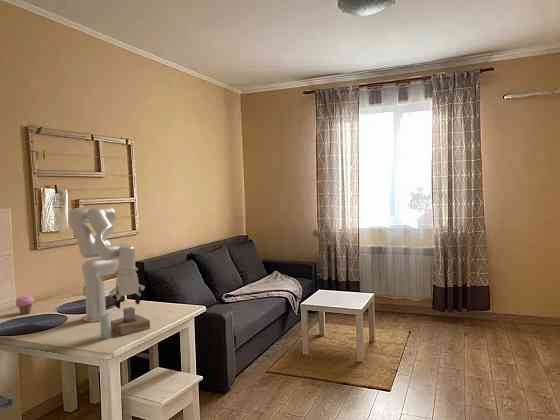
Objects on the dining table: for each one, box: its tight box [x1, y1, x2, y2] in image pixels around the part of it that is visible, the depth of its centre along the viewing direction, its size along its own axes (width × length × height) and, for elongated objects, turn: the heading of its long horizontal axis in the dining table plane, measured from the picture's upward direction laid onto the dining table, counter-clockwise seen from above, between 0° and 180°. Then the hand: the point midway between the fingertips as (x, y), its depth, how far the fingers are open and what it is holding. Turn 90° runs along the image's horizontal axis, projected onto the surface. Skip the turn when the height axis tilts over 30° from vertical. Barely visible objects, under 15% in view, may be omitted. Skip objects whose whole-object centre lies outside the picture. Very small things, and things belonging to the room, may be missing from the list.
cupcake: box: [15, 295, 35, 315], centre depth 236 cm, size 9×9×10 cm
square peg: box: [123, 306, 136, 323], centre depth 205 cm, size 4×4×10 cm
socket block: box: [111, 314, 151, 337], centre depth 205 cm, size 14×14×4 cm
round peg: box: [99, 314, 112, 340], centre depth 193 cm, size 4×4×10 cm
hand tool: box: [105, 295, 126, 308], centre depth 248 cm, size 23×5×6 cm, turn 158°
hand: (128, 305), depth 205 cm, fingers open, 9 cm apart
